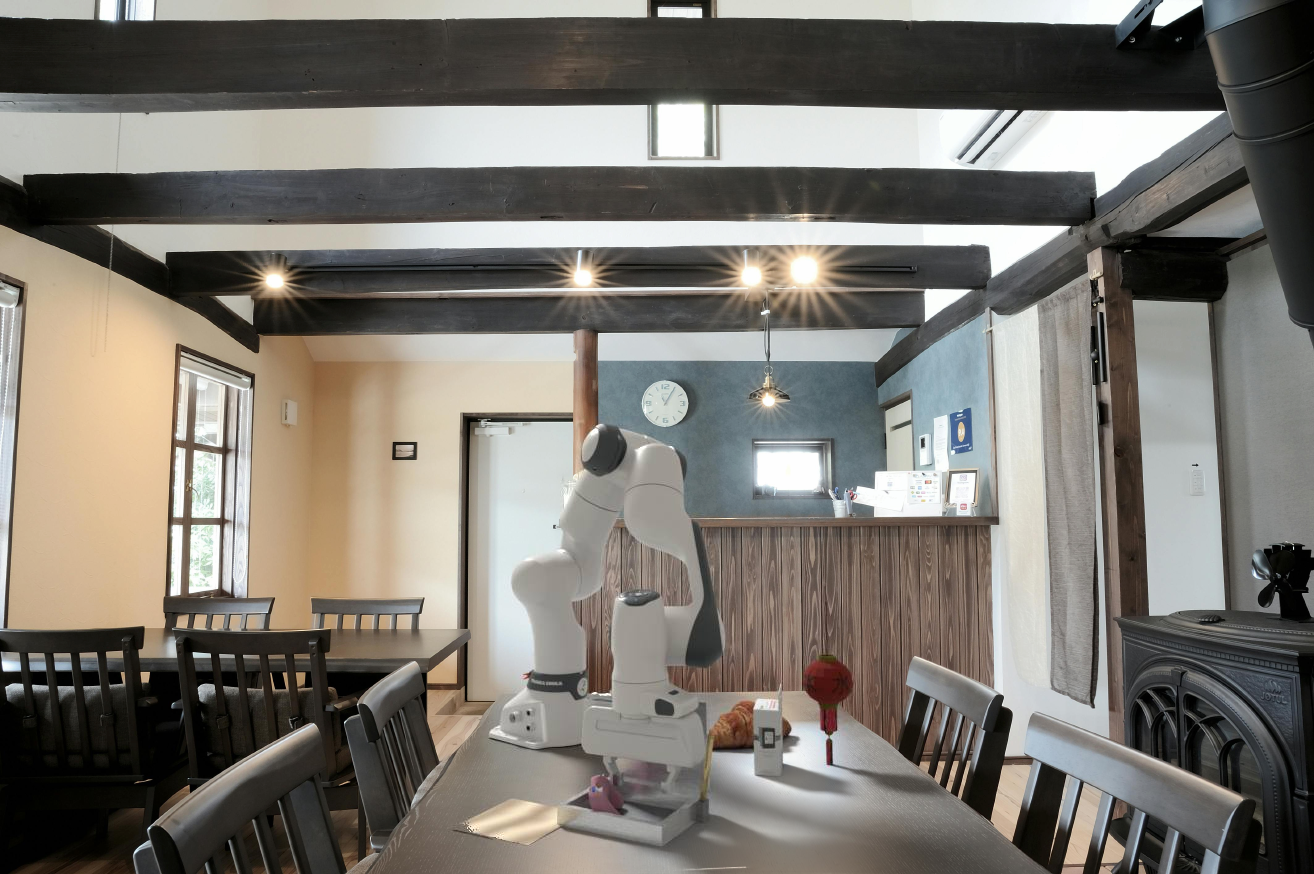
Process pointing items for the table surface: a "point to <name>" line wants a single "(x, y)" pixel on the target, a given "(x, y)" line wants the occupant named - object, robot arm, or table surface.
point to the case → (649, 798)
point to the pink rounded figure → (604, 795)
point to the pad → (516, 821)
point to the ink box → (768, 736)
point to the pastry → (739, 727)
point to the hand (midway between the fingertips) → (642, 788)
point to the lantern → (828, 690)
